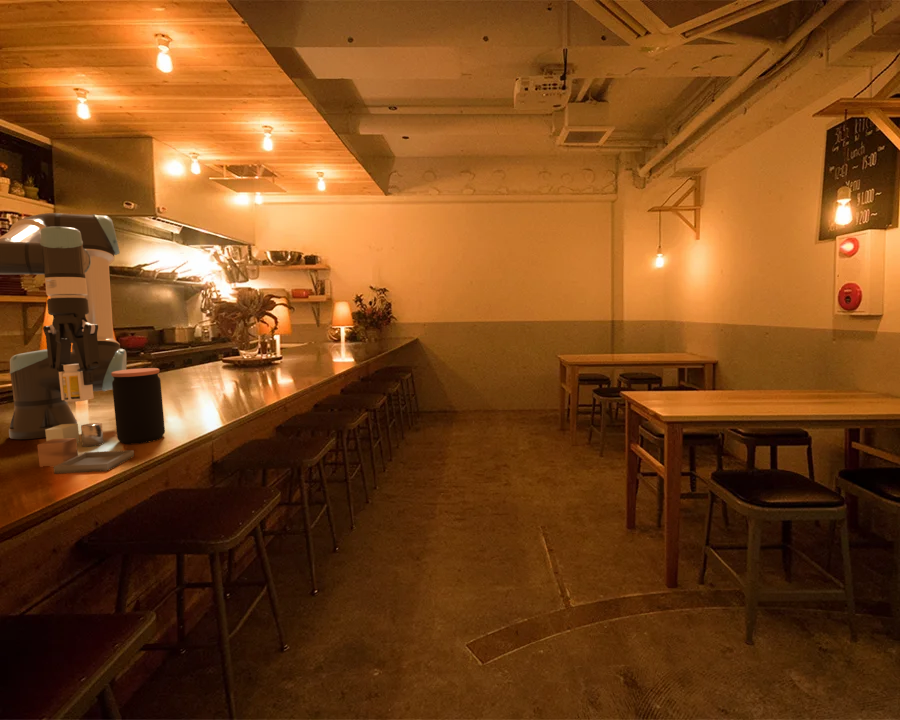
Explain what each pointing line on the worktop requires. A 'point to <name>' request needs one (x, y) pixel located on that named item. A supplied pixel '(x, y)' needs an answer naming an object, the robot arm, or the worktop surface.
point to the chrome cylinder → (92, 434)
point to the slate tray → (93, 461)
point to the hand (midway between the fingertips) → (77, 399)
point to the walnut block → (57, 451)
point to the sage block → (63, 432)
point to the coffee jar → (138, 405)
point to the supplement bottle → (71, 383)
